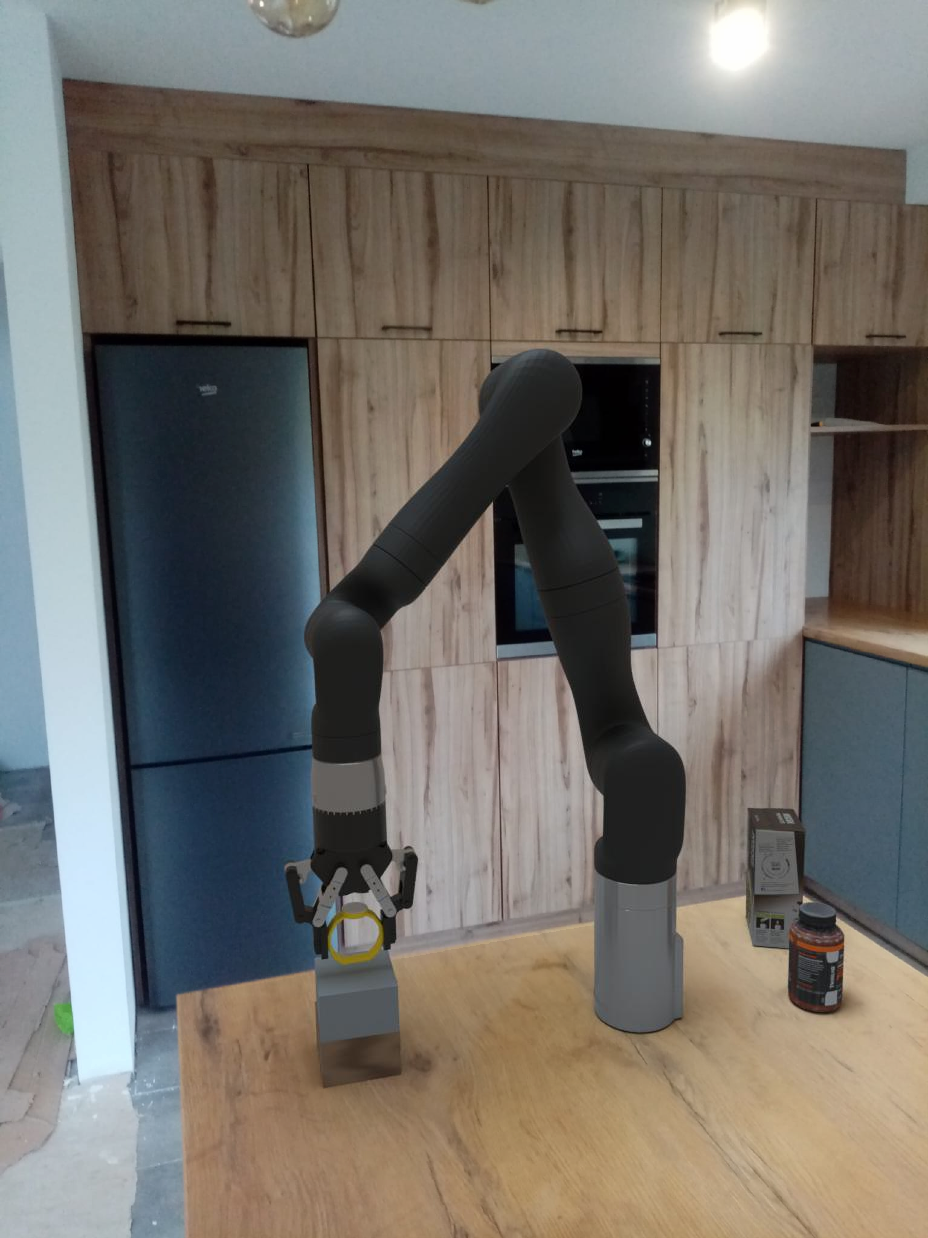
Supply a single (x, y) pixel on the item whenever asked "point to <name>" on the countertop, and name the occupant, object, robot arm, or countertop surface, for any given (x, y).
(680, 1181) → the countertop surface
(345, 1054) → the walnut block
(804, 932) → the supplement bottle
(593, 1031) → the countertop surface
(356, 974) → the grey block
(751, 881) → the coffee box
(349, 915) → the watch
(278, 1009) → the countertop surface
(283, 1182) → the countertop surface
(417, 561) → the robot arm
